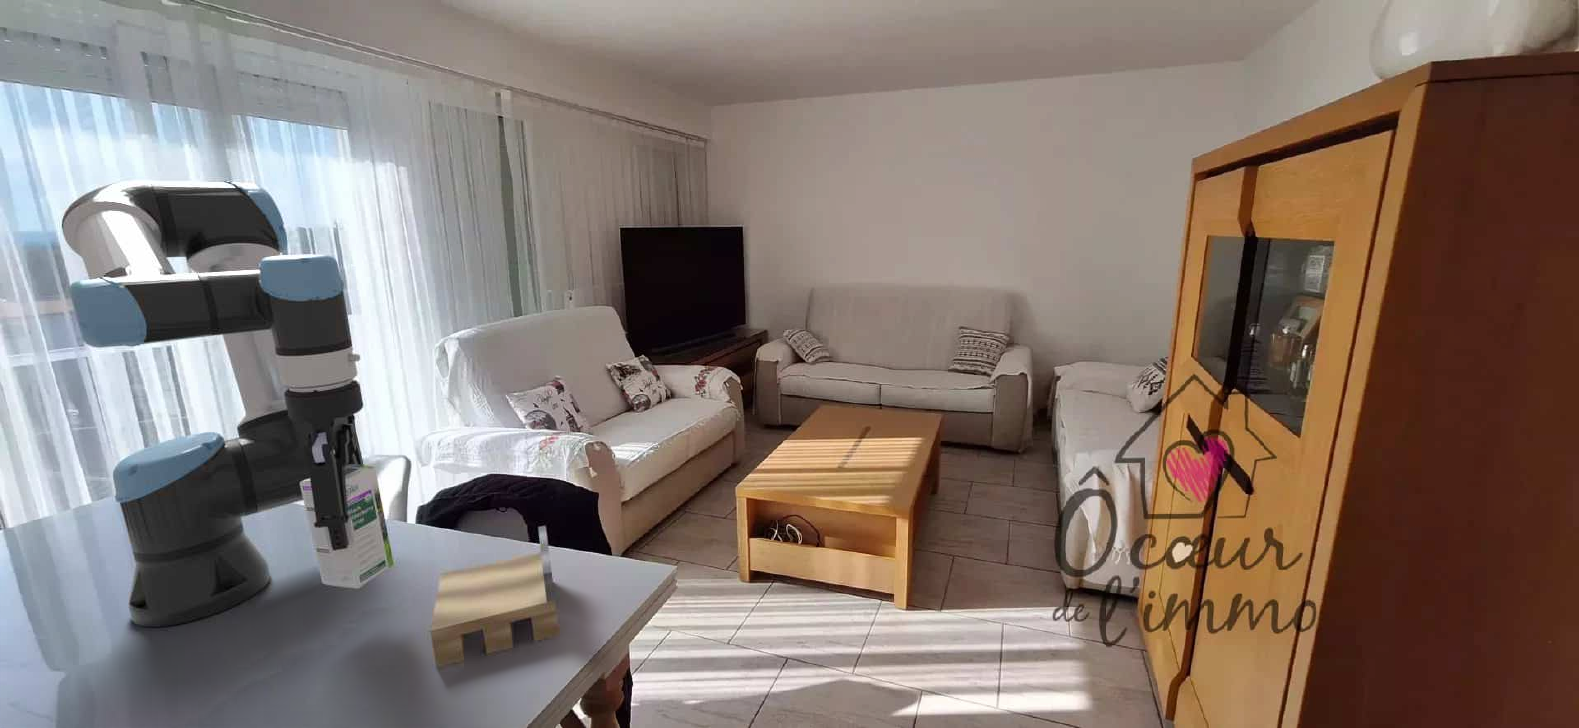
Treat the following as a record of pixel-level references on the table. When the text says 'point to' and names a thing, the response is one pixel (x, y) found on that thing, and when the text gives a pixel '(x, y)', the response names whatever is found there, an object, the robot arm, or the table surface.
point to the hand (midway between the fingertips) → (354, 552)
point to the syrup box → (366, 528)
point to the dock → (494, 603)
